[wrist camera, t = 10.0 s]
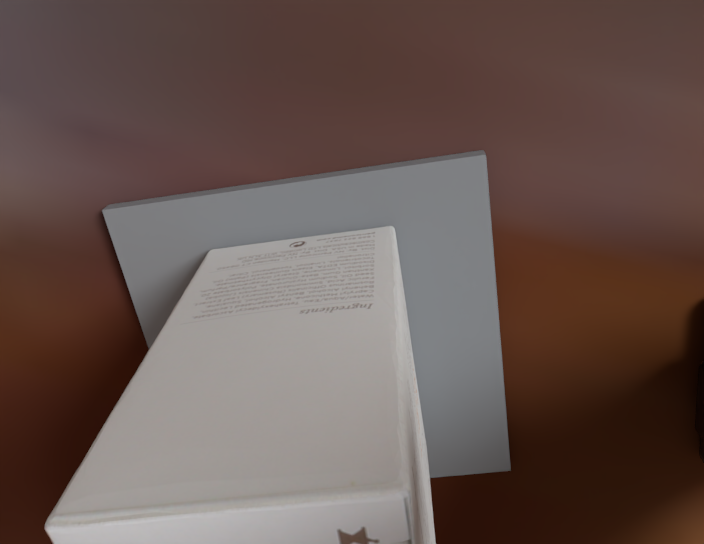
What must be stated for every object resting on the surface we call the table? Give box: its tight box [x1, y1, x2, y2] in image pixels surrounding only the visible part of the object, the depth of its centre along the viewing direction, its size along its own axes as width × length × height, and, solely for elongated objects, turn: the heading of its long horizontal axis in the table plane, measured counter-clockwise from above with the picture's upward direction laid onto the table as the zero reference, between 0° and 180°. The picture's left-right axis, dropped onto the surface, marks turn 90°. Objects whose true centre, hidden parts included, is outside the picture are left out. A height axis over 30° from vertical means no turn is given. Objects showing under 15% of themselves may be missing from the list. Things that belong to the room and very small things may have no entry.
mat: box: [102, 150, 511, 478], centre depth 20 cm, size 11×11×1 cm
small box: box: [45, 226, 436, 544], centre depth 15 cm, size 8×6×10 cm
